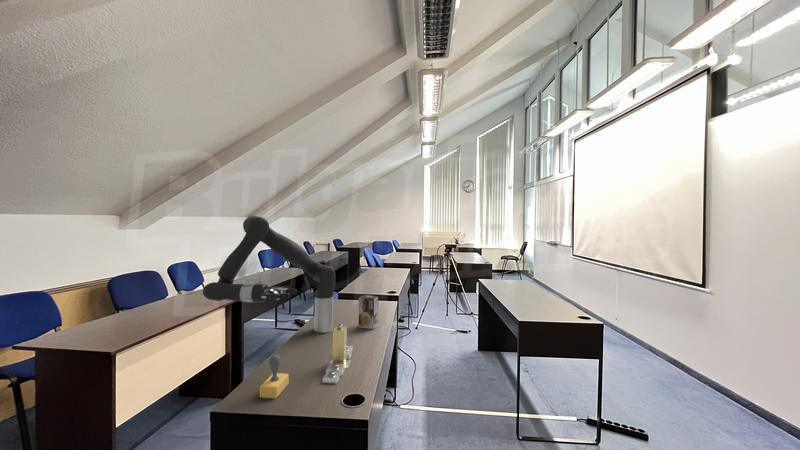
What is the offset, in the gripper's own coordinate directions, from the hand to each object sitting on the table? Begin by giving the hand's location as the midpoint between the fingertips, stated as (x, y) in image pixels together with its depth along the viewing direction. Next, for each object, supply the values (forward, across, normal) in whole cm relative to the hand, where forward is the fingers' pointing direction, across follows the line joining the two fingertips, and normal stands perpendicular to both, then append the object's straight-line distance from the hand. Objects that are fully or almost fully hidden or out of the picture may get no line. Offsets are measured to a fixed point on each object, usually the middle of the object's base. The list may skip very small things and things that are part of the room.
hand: (292, 294), depth 144 cm
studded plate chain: (+21, -6, +26) cm, 34 cm away
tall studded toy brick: (+21, -6, +26) cm, 34 cm away
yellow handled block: (+4, -28, +26) cm, 39 cm away
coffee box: (+26, +42, +26) cm, 56 cm away
